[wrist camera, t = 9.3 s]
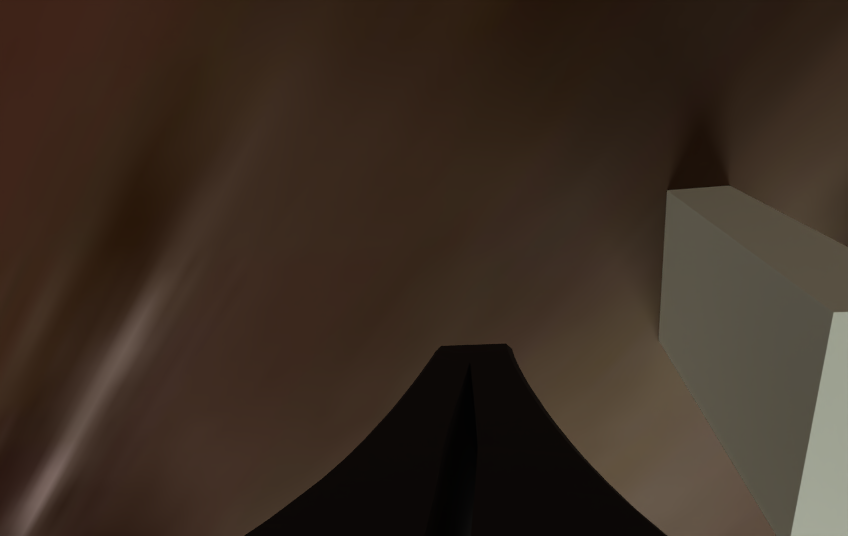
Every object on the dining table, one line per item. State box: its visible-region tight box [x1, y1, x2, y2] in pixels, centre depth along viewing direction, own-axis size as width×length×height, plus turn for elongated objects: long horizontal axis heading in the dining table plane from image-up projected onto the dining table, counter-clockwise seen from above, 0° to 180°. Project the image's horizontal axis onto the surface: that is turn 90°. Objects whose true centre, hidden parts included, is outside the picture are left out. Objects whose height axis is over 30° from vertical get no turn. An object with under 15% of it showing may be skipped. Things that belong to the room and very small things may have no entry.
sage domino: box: [659, 185, 848, 536], centre depth 11 cm, size 2×4×7 cm, turn 7°
